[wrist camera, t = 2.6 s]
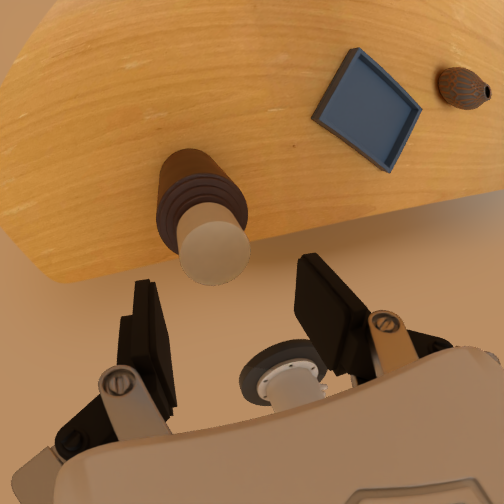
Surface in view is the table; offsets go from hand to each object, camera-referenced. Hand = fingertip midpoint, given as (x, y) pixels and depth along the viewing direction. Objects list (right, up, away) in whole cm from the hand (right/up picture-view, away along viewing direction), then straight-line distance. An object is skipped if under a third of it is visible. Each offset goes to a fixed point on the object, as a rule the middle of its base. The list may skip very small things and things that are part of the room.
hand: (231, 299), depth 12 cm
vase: (+31, +28, +22) cm, 48 cm away
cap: (-2, +3, +6) cm, 7 cm away
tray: (+16, +20, +21) cm, 33 cm away
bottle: (-6, +10, +19) cm, 23 cm away
